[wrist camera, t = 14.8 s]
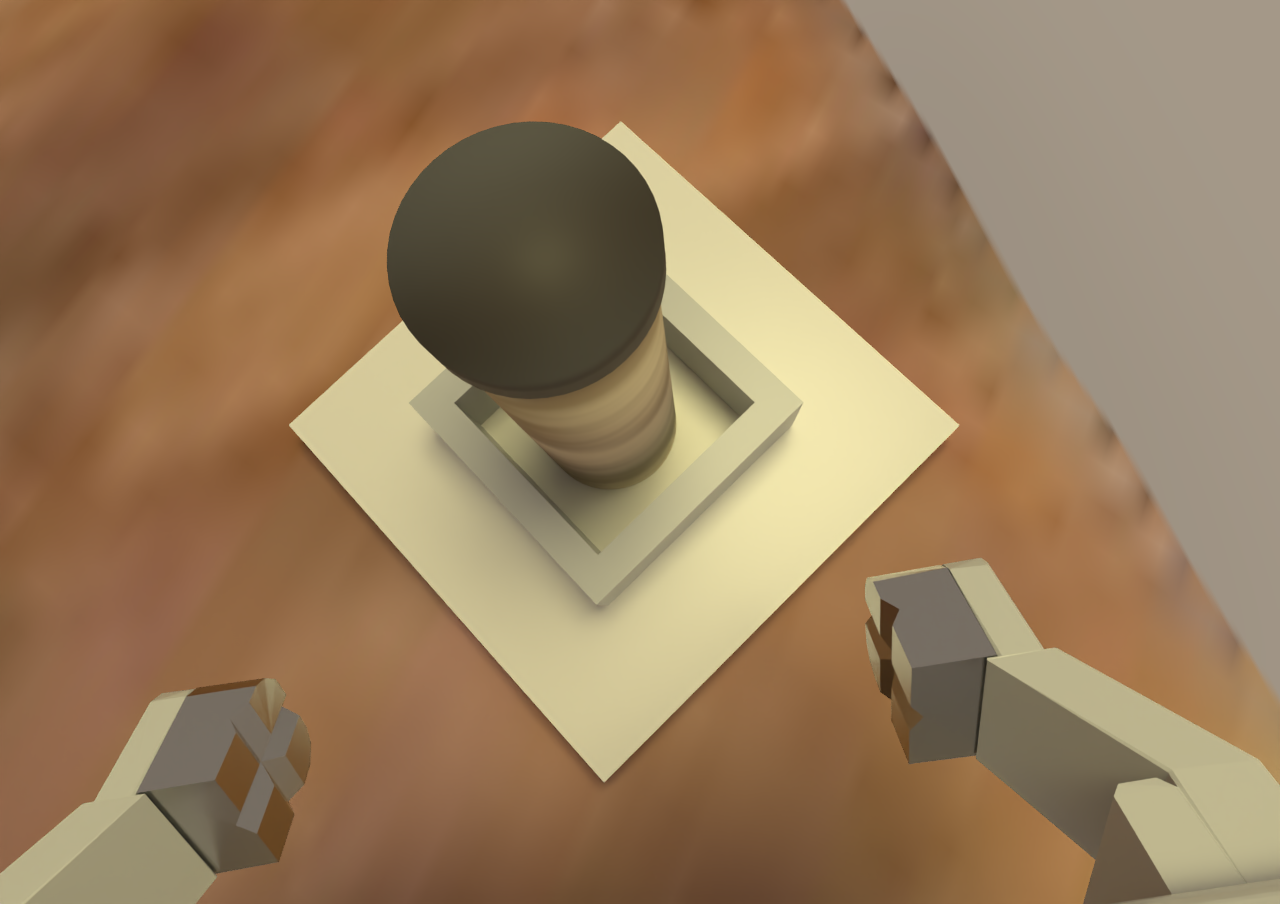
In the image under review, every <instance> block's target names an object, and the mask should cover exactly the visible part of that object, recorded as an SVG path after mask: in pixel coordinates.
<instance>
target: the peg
mask: <svg viewBox="0 0 1280 904" xmlns="http://www.w3.org/2000/svg"><path fill="white" fill-rule="evenodd" d="M387 271H388V280H389V286H390V289H391V293H392V297H393V301H394V303H395V305H396V308H397V310H398V312H399V315H400V317H401V318H402V320H403V322H404V323H405V325H406V326H407V328H408V330H409V331H410V332H411V334H412V335H413V336H414V337H415V338H416V340H417V341H418V342H419V343H420V344H421V345H422V346H423V347H424V348H425V349H426V350H427V351H428V352H429V353H430V354H431V355H433V356H434V357H435V358H436V359H437V360H438V361H439V362H440V363H441V364H442V365H443V366H444V367H445V368H447V369H448V370H449V371H450V372H451V373H452V374H454V375H455V376H457V377H458V378H460V379H461V380H463V381H464V382H466V383H468V384H470V385H472V386H474V387H476V388H478V389H480V390H483V391H485V392H486V393H487V394H488V395H489V396H490V397H491V398H492V399H493V400H494V401H495V402H496V403H497V404H498V405H499V406H500V407H501V408H502V409H503V410H504V411H505V412H506V413H507V414H508V415H509V416H510V417H511V418H512V419H513V420H514V421H515V422H516V423H517V424H518V425H519V426H520V427H521V428H522V429H523V430H524V431H525V432H526V433H527V434H528V435H529V436H530V437H531V438H532V439H533V440H534V441H535V442H536V443H537V444H538V445H539V446H540V447H541V448H542V449H543V450H544V451H545V452H546V453H547V454H548V455H549V456H550V457H551V458H552V459H553V460H554V461H555V462H556V463H557V464H558V465H559V466H560V467H561V468H562V469H563V470H564V471H565V472H566V473H567V474H568V475H569V476H571V477H572V478H574V479H575V480H577V481H579V482H581V483H583V484H585V485H588V486H590V487H594V488H599V489H621V488H626V487H629V486H632V485H635V484H637V483H639V482H641V481H643V480H645V479H646V478H648V477H649V476H651V475H652V474H653V473H654V472H655V471H657V469H658V468H659V467H660V466H661V465H662V464H663V462H664V461H665V460H666V458H667V457H668V455H669V453H670V451H671V448H672V446H673V443H674V439H675V434H676V413H675V405H674V398H673V390H672V383H671V375H670V368H669V360H668V353H667V345H666V338H665V330H664V323H663V315H662V308H661V303H662V298H663V294H664V289H665V282H666V254H665V244H664V235H663V227H662V222H661V217H660V212H659V209H658V206H657V203H656V201H655V198H654V195H653V193H652V191H651V190H650V188H649V186H648V184H647V182H646V180H645V179H644V178H643V176H642V175H641V173H640V172H639V171H638V169H637V168H636V167H635V166H634V165H633V164H632V162H631V161H630V160H629V159H628V158H627V157H626V156H625V155H624V154H622V153H621V152H620V151H619V150H617V149H616V148H615V147H613V146H612V145H611V144H609V143H607V142H606V141H604V140H602V139H601V138H599V137H597V136H595V135H593V134H591V133H588V132H586V131H584V130H581V129H578V128H574V127H571V126H567V125H563V124H556V123H550V122H520V123H511V124H506V125H501V126H496V127H493V128H490V129H487V130H484V131H481V132H478V133H476V134H474V135H472V136H470V137H467V138H465V139H463V140H461V141H460V142H458V143H457V144H455V145H453V146H452V147H450V148H448V149H447V150H446V151H444V152H443V153H442V154H441V155H439V156H438V157H437V158H436V159H434V160H433V161H432V162H431V163H430V164H429V165H428V166H427V167H426V168H425V169H424V170H423V171H422V172H421V174H420V175H419V176H418V177H417V179H416V180H415V181H414V183H413V184H412V185H411V186H410V188H409V190H408V191H407V193H406V195H405V196H404V198H403V200H402V201H401V204H400V206H399V208H398V211H397V213H396V215H395V218H394V221H393V224H392V228H391V231H390V236H389V242H388V249H387Z"/></svg>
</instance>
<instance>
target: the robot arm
mask: <svg viewBox="0 0 1280 904" xmlns="http://www.w3.org/2000/svg"><path fill="white" fill-rule="evenodd" d="M865 600H866V602H867V605H868V607H869V610H870V612H871V615H872V616H871V617H870V618H869V619H868V621H867V622H866V641H867V647H868V653H869V659H870V663H871V666H872V670H873V673H874V676H875V679H876V682H877V684H878V687H879V690H880V692H881V693H882V694H884V695H885V696H887V697H888V698H890V699H891V721H892V723H893V726H894V728H895V731H896V733H897V736H898V738H899V740H900V743H901V745H902V748H903V750H904V753H905V755H906V758H907V760H908V763H909V764H913V763H920V762H928V761H936V760H944V759H952V758H959V757H967V756H975V755H976V759H977V760H978V761H979V762H981V763H982V764H983V765H984V766H985V767H986V768H988V769H989V770H990V771H991V772H992V773H994V774H995V775H996V776H997V777H998V778H999V779H1001V780H1002V781H1003V782H1004V783H1005V784H1007V785H1008V786H1009V787H1010V788H1011V789H1013V790H1014V791H1015V792H1016V793H1017V794H1018V795H1020V796H1021V797H1022V798H1023V799H1024V800H1026V801H1027V802H1028V803H1029V804H1030V805H1031V806H1033V807H1034V808H1035V809H1036V810H1037V811H1039V812H1040V813H1041V814H1042V815H1043V816H1044V817H1046V818H1047V819H1048V820H1049V821H1050V822H1052V823H1053V824H1054V825H1055V826H1056V827H1057V828H1059V829H1060V830H1061V831H1062V832H1063V833H1065V834H1066V835H1067V836H1068V837H1069V838H1070V839H1072V840H1073V841H1074V842H1075V843H1076V844H1078V845H1079V846H1080V847H1081V848H1082V849H1084V850H1085V851H1086V852H1087V853H1088V854H1089V855H1091V856H1092V857H1093V858H1094V859H1095V860H1096V861H1095V864H1094V868H1093V871H1092V875H1091V878H1090V882H1089V885H1088V889H1087V892H1086V896H1085V899H1084V903H1083V904H1280V785H1279V784H1278V783H1277V781H1276V780H1275V779H1274V778H1273V776H1272V775H1271V774H1270V773H1269V772H1268V770H1267V769H1266V768H1265V767H1264V765H1263V764H1262V763H1261V762H1260V761H1259V759H1257V758H1255V757H1253V756H1251V755H1250V754H1248V753H1246V752H1244V751H1242V750H1240V749H1239V748H1237V747H1235V746H1233V745H1231V744H1230V743H1228V742H1226V741H1224V740H1222V739H1221V738H1219V737H1217V736H1215V735H1213V734H1212V733H1210V732H1208V731H1206V730H1204V729H1202V728H1201V727H1199V726H1197V725H1195V724H1193V723H1192V722H1190V721H1188V720H1186V719H1184V718H1183V717H1181V716H1179V715H1177V714H1175V713H1174V712H1172V711H1170V710H1168V709H1166V708H1165V707H1163V706H1161V705H1159V704H1157V703H1155V702H1154V701H1152V700H1150V699H1148V698H1146V697H1145V696H1143V695H1141V694H1139V693H1137V692H1136V691H1134V690H1132V689H1130V688H1128V687H1127V686H1125V685H1123V684H1121V683H1119V682H1117V681H1116V680H1114V679H1112V678H1110V677H1108V676H1107V675H1105V674H1103V673H1101V672H1099V671H1098V670H1096V669H1094V668H1092V667H1090V666H1089V665H1087V664H1085V663H1083V662H1081V661H1080V660H1078V659H1076V658H1074V657H1072V656H1070V655H1069V654H1067V653H1065V652H1063V651H1061V650H1060V649H1058V648H1049V649H1044V648H1043V647H1042V645H1041V644H1040V642H1039V641H1038V639H1037V637H1036V636H1035V634H1034V633H1033V631H1032V630H1031V628H1030V627H1029V625H1028V624H1027V622H1026V621H1025V619H1024V617H1023V616H1022V614H1021V613H1020V611H1019V610H1018V608H1017V607H1016V605H1015V604H1014V602H1013V601H1012V599H1011V598H1010V596H1009V594H1008V593H1007V591H1006V590H1005V588H1004V587H1003V585H1002V584H1001V582H1000V581H999V579H998V578H997V576H996V574H995V573H994V571H993V570H992V568H991V567H990V565H989V564H988V562H986V561H985V560H983V559H982V558H977V559H971V560H965V561H960V562H954V563H948V564H943V565H942V566H940V565H937V566H932V567H926V568H920V569H915V570H909V571H903V572H898V573H892V574H886V575H881V576H875V577H869V578H867V580H866V584H865ZM285 697H286V694H285V692H284V691H283V689H282V688H281V687H280V685H279V684H278V682H277V681H276V679H267V678H263V679H256V680H249V681H242V682H235V683H228V684H220V685H213V686H206V687H199V688H196V689H190V690H183V691H175V692H168V693H162V694H161V695H159V696H158V697H157V698H155V699H154V700H153V701H151V702H150V704H149V706H148V707H147V709H146V711H145V713H144V714H143V716H142V718H141V720H140V721H139V723H138V725H137V727H136V729H135V730H134V732H133V734H132V736H131V737H130V739H129V741H128V743H127V744H126V746H125V748H124V750H123V751H122V753H121V755H120V757H119V759H118V760H117V762H116V764H115V766H114V767H113V769H112V771H111V773H110V774H109V776H108V778H107V780H106V781H105V783H104V785H103V787H102V789H101V790H100V792H99V794H98V796H97V797H96V799H95V801H94V802H89V803H83V804H82V805H81V806H79V807H78V808H77V809H76V810H75V811H73V812H72V813H71V814H70V815H69V816H68V817H66V818H65V819H64V820H63V821H62V822H60V823H59V824H58V825H57V826H56V827H55V828H53V829H52V830H51V831H50V832H49V833H47V834H46V835H45V836H44V837H43V838H42V839H40V840H39V841H38V842H37V843H36V844H35V845H33V846H32V847H31V848H30V849H29V850H27V851H26V852H25V853H24V854H23V855H22V856H20V857H19V858H18V859H17V860H16V861H14V862H13V863H12V864H11V865H10V866H9V867H7V868H6V869H5V870H4V871H3V872H2V873H0V904H196V903H197V901H198V900H199V899H200V898H201V896H202V895H203V894H204V893H205V891H206V890H207V889H208V888H209V886H210V885H211V884H212V883H213V881H214V880H215V879H216V878H217V875H216V873H221V872H227V871H232V870H238V869H243V868H248V867H254V866H259V865H265V864H270V863H275V862H279V860H280V857H281V854H282V851H283V848H284V845H285V842H286V839H287V835H288V832H289V829H290V826H291V823H292V820H293V817H294V812H293V810H292V808H291V806H290V804H289V800H290V799H291V798H292V797H293V796H294V795H295V793H296V792H297V791H298V790H299V789H300V788H301V787H302V786H303V785H304V784H305V780H306V777H307V774H308V770H309V767H310V757H311V741H310V738H309V734H308V731H307V727H306V725H305V724H304V722H303V721H302V719H301V717H300V716H299V715H297V714H295V713H293V712H291V711H290V710H288V709H286V708H284V707H282V705H283V702H284V700H285Z"/></svg>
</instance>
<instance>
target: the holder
mask: <svg viewBox="0 0 1280 904" xmlns="http://www.w3.org/2000/svg"><path fill="white" fill-rule="evenodd" d="M602 140H604V141H606V142H607V143H609V144H611V145H612V146H613V147H615V148H616V149H617V150H619V151H620V152H621V153H622V154H624V155H625V156H626V157H627V158H628V159H629V160H630V161H631V162H632V164H633V165H634V166H635V167H636V168H637V169H638V171H639V172H640V173H641V175H642V176H643V178H644V179H645V180H646V182H647V184H648V186H649V188H650V190H651V191H652V193H653V195H654V198H655V201H656V203H657V206H658V209H659V212H660V217H661V222H662V227H663V235H664V244H665V254H666V282H665V289H664V294H663V298H662V303H661V308H662V315H663V323H664V330H665V338H666V345H667V353H668V360H669V368H670V375H671V383H672V390H673V398H674V405H675V413H676V434H675V439H674V443H673V446H672V448H671V451H670V453H669V455H668V457H667V458H666V460H665V461H664V462H663V464H662V465H661V466H660V467H659V468H658V469H657V471H655V472H654V473H653V474H652V475H651V476H649V477H648V478H646V479H645V480H643V481H641V482H639V483H637V484H635V485H632V486H629V487H626V488H621V489H599V488H594V487H590V486H588V485H585V484H583V483H581V482H579V481H577V480H575V479H574V478H572V477H571V476H569V475H568V474H567V473H566V472H565V471H564V470H563V469H562V468H561V467H560V466H559V465H558V464H557V463H556V462H555V461H554V460H553V459H552V458H551V457H550V456H549V455H548V454H547V453H546V452H545V451H544V450H543V449H542V448H541V447H540V446H539V445H538V444H537V443H536V442H535V441H534V440H533V439H532V438H531V437H530V436H529V435H528V434H527V433H526V432H525V431H524V430H523V429H522V428H521V427H520V426H519V425H518V424H517V423H516V422H515V421H514V420H513V419H512V418H511V417H510V416H509V415H508V414H507V413H506V412H505V411H504V410H503V409H502V408H501V407H500V406H499V405H498V404H497V403H496V402H495V401H494V400H493V399H492V398H491V397H490V396H489V395H488V394H487V393H486V392H485V391H483V390H480V389H478V388H476V387H474V386H472V385H470V384H468V383H466V382H464V381H463V380H461V379H460V378H458V377H457V376H455V375H454V374H452V373H451V372H450V371H449V370H448V369H447V368H445V367H444V366H443V365H442V364H441V363H440V362H439V361H438V360H437V359H436V358H435V357H434V356H433V355H431V354H430V353H429V352H428V351H427V350H426V349H425V348H424V347H423V346H422V345H421V344H420V343H419V342H418V341H417V340H416V338H415V337H414V336H413V335H412V334H411V332H410V331H409V330H408V328H407V326H406V325H405V323H404V322H403V321H402V322H401V323H400V324H399V325H398V326H397V327H395V328H394V329H393V330H392V331H391V332H390V333H389V334H388V335H387V336H386V337H384V338H383V339H382V340H381V341H380V342H379V343H378V344H377V345H376V346H375V347H374V348H372V349H371V350H370V351H369V352H368V353H367V354H366V355H365V356H364V357H363V358H362V359H360V360H359V361H358V362H357V363H356V364H355V365H354V366H353V367H352V368H351V369H349V370H348V371H347V372H346V373H345V374H344V375H343V376H342V377H341V378H340V379H339V380H337V381H336V382H335V383H334V384H333V385H332V386H331V387H330V388H329V389H328V390H327V391H325V392H324V393H323V394H322V395H321V396H320V397H319V398H318V399H317V400H316V401H314V402H313V403H312V404H311V405H310V406H309V407H308V408H307V409H306V410H305V411H304V412H302V413H301V414H300V415H299V416H298V417H297V418H296V419H295V420H294V421H293V422H292V423H290V424H289V426H290V427H291V428H292V429H293V430H294V431H295V433H296V434H297V435H298V436H299V437H300V438H301V439H302V441H303V442H304V443H305V444H306V445H307V446H308V447H309V448H310V450H311V451H312V452H313V453H314V454H315V455H316V456H317V458H318V459H319V460H320V461H321V462H322V463H323V464H324V465H325V467H326V468H327V469H328V470H329V471H330V472H331V473H332V475H333V476H334V477H335V478H336V479H337V480H338V481H339V483H340V484H341V485H342V486H343V487H344V488H345V489H346V490H347V492H348V493H349V494H350V495H351V496H352V497H353V498H354V500H355V501H356V502H357V503H358V504H359V505H360V506H361V507H362V509H363V510H364V511H365V512H366V513H367V514H368V515H369V517H370V518H371V519H372V520H373V521H374V522H375V523H376V524H377V526H378V527H379V528H380V529H381V530H382V531H383V532H384V534H385V535H386V536H387V537H388V538H389V539H390V540H391V541H392V543H393V544H394V545H395V546H396V547H397V548H398V549H399V551H400V552H401V553H402V554H403V555H404V556H405V557H406V558H407V560H408V561H409V562H410V563H411V564H412V565H413V566H414V568H415V569H416V570H417V571H418V572H419V573H420V574H421V576H422V577H423V578H424V579H425V580H426V581H427V582H428V583H429V585H430V586H431V587H432V588H433V589H434V590H435V591H436V593H437V594H438V595H439V596H440V597H441V598H442V599H443V600H444V602H445V603H446V604H447V605H448V606H449V607H450V608H451V610H452V611H453V612H454V613H455V614H456V615H457V616H458V617H459V619H460V620H461V621H462V622H463V623H464V624H465V625H466V627H467V628H468V629H469V630H470V631H471V632H472V633H473V634H474V636H475V637H476V638H477V639H478V640H479V641H480V642H481V644H482V645H483V646H484V647H485V648H486V649H487V650H488V651H489V653H490V654H491V655H492V656H493V657H494V658H495V659H496V661H497V662H498V663H499V664H500V665H501V666H502V667H503V669H504V670H505V671H506V672H507V673H508V674H509V675H510V676H511V678H512V679H513V680H514V681H515V682H516V683H517V684H518V686H519V687H520V688H521V689H522V690H523V691H524V692H525V693H526V695H527V696H528V697H529V698H530V699H531V700H532V701H533V703H534V704H535V705H536V706H537V707H538V708H539V709H540V710H541V712H542V713H543V714H544V715H545V716H546V717H547V718H548V720H549V721H550V722H551V723H552V724H553V725H554V726H555V727H556V729H557V730H558V731H559V732H560V733H561V734H562V735H563V737H564V738H565V739H566V740H567V741H568V742H569V743H570V744H571V746H572V747H573V748H574V749H575V750H576V751H577V752H578V754H579V755H580V756H581V757H582V758H583V759H584V760H585V762H586V763H587V764H588V765H589V766H590V767H591V768H592V769H593V771H594V772H595V773H596V774H597V775H598V776H599V777H600V779H601V780H602V781H603V782H605V781H606V780H607V779H608V778H609V777H610V776H611V775H612V774H613V773H614V772H615V771H616V770H617V769H618V768H619V767H620V766H621V765H622V764H623V763H624V762H625V761H626V760H627V759H628V758H629V757H630V756H631V755H632V754H633V753H634V752H635V751H636V750H637V749H638V748H639V747H640V746H641V745H642V744H643V743H644V742H645V741H646V740H647V739H648V738H649V737H650V736H651V735H652V734H653V733H654V732H655V731H656V730H657V729H658V728H659V727H660V726H661V725H662V724H663V723H664V722H665V721H666V720H667V719H668V718H669V717H670V716H671V715H672V714H673V713H674V712H675V711H676V710H677V709H678V708H679V707H680V706H681V705H682V704H683V703H684V702H685V701H686V700H687V699H688V698H689V697H690V696H691V695H692V694H693V693H694V692H695V691H696V690H697V689H698V688H699V687H700V686H701V685H702V684H703V683H704V682H705V681H706V680H707V679H708V678H709V677H710V676H711V675H712V674H713V673H714V672H715V671H716V670H717V669H718V668H719V667H720V666H721V665H722V664H723V663H724V662H725V661H726V660H727V659H728V658H729V657H730V656H731V655H732V654H733V653H734V652H735V651H736V650H737V649H738V648H739V647H740V646H741V645H742V644H743V643H744V642H745V641H746V640H747V639H748V638H749V637H750V635H751V634H752V633H753V632H754V631H755V630H756V629H757V628H758V627H759V626H760V625H761V624H762V623H763V622H764V621H765V620H766V619H767V618H768V617H769V616H770V615H771V614H772V613H773V612H774V611H775V610H776V609H777V608H778V607H779V606H780V605H781V604H782V603H783V602H784V601H785V600H786V599H787V598H788V597H789V596H790V595H791V594H792V593H793V592H794V591H795V590H796V589H797V588H798V587H799V586H800V585H801V584H802V583H803V582H804V581H805V580H806V579H807V578H808V577H809V576H810V575H811V574H812V573H813V572H814V571H815V570H816V569H817V568H818V567H819V566H820V565H821V564H822V563H823V562H824V561H825V560H826V559H827V558H828V557H829V556H830V555H831V554H832V553H833V552H834V551H835V550H836V549H837V548H838V547H839V546H840V545H841V544H842V543H843V542H844V541H845V540H846V539H847V538H848V537H849V536H850V535H851V534H852V533H853V532H854V531H855V530H856V529H857V528H858V527H859V526H860V525H861V524H862V523H863V522H864V521H865V520H866V519H867V518H868V517H869V516H870V515H871V514H872V513H873V512H874V511H875V510H876V509H877V508H878V507H879V506H880V505H881V504H882V503H883V502H884V501H885V500H886V499H887V498H888V497H889V496H890V495H891V494H892V493H893V492H894V491H895V490H896V489H897V488H898V487H899V486H900V485H901V484H902V483H903V482H904V481H905V480H906V479H907V478H908V477H909V476H910V475H911V474H912V473H913V472H914V471H915V470H916V469H917V468H918V467H919V466H920V465H921V464H922V463H923V462H924V461H925V460H926V459H927V458H928V457H929V456H930V455H931V454H932V453H933V452H934V451H935V450H936V449H937V448H938V447H939V446H940V445H941V444H942V443H943V442H944V441H945V440H946V439H947V438H948V437H949V435H950V434H951V433H952V432H953V431H954V430H955V429H956V428H957V427H958V426H959V425H958V424H957V423H956V422H955V421H954V420H953V419H952V418H951V417H949V416H948V415H947V414H946V413H945V412H944V411H943V410H942V409H941V408H939V407H938V406H937V405H936V404H935V403H934V402H933V401H932V400H931V399H929V398H928V397H927V396H926V395H925V394H924V393H923V392H922V391H921V390H919V389H918V388H917V387H916V386H915V385H914V384H913V383H912V382H910V381H909V380H908V379H907V378H906V377H905V376H904V375H903V374H902V373H900V372H899V371H898V370H897V369H896V368H895V367H894V366H893V365H892V364H890V363H889V362H888V361H887V360H886V359H885V358H884V357H883V356H882V355H880V354H879V353H878V352H877V351H876V350H875V349H874V348H873V347H871V346H870V345H869V344H868V343H867V342H866V341H865V340H864V339H863V338H861V337H860V336H859V335H858V334H857V333H856V332H855V331H854V330H853V329H851V328H850V327H849V326H848V325H847V324H846V323H845V322H844V321H843V320H841V319H840V318H839V317H838V316H837V315H836V314H835V313H834V312H833V311H831V310H830V309H829V308H828V307H827V306H826V305H825V304H824V303H822V302H821V301H820V300H819V299H818V298H817V297H816V296H815V295H814V294H812V293H811V292H810V291H809V290H808V289H807V288H806V287H805V286H804V285H802V284H801V283H800V282H799V281H798V280H797V279H796V278H795V277H794V276H792V275H791V274H790V273H789V272H788V271H787V270H786V269H785V268H784V267H782V266H781V265H780V264H779V263H778V262H777V261H776V260H775V259H773V258H772V257H771V256H770V255H769V254H768V253H767V252H766V251H765V250H763V249H762V248H761V247H760V246H759V245H758V244H757V243H756V242H755V241H753V240H752V239H751V238H750V237H749V236H748V235H747V234H746V233H745V232H743V231H742V230H741V229H740V228H739V227H738V226H737V225H736V224H734V223H733V222H732V221H731V220H730V219H729V218H728V217H727V216H726V215H724V214H723V213H722V212H721V211H720V210H719V209H718V208H717V207H716V206H714V205H713V204H712V203H711V202H710V201H709V200H708V199H707V198H706V197H704V196H703V195H702V194H701V193H700V192H699V191H698V190H697V189H696V188H694V187H693V186H692V185H691V184H690V183H689V182H688V181H687V180H685V179H684V178H683V177H682V176H681V175H680V174H679V173H678V172H677V171H675V170H674V169H673V168H672V167H671V166H670V165H669V164H668V163H667V162H665V161H664V160H663V159H662V158H661V157H660V156H659V155H658V154H657V153H655V152H654V151H653V150H652V149H651V148H650V147H649V146H648V145H647V144H645V143H644V142H643V141H642V140H641V139H640V138H639V137H638V136H636V135H635V134H634V133H633V132H632V131H631V130H630V129H629V128H628V127H626V126H625V125H624V124H623V123H622V122H620V123H619V124H617V125H616V126H615V127H614V128H613V129H612V130H611V131H610V132H609V133H608V134H606V135H605V136H604V137H603V138H602Z"/></svg>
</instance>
